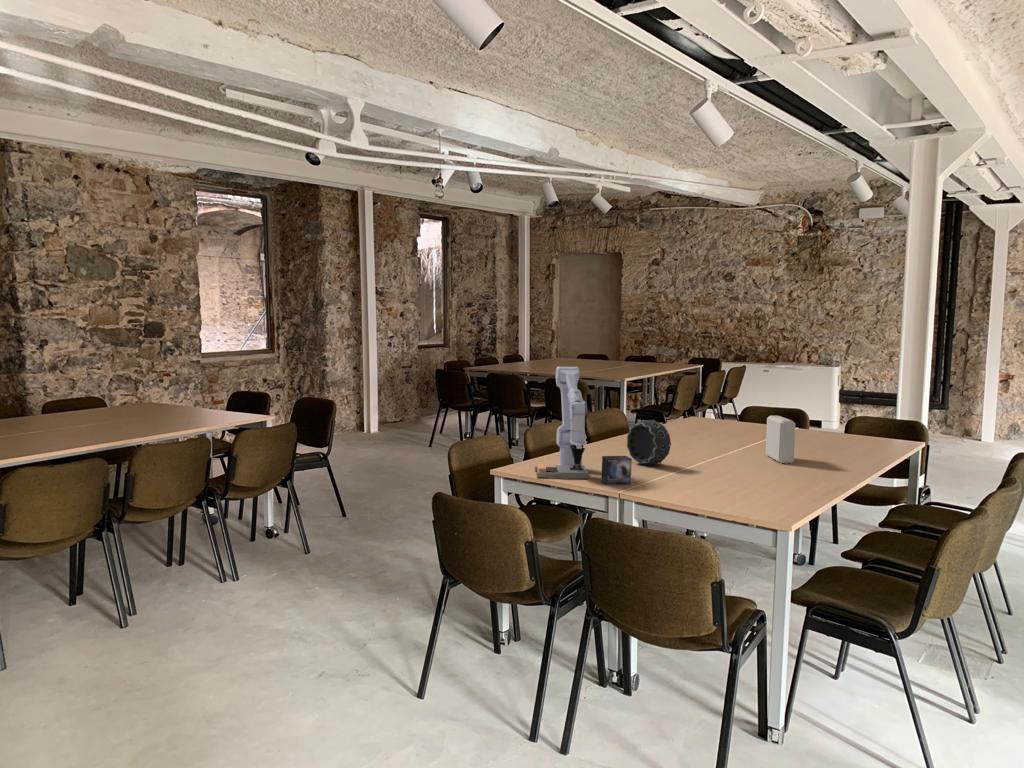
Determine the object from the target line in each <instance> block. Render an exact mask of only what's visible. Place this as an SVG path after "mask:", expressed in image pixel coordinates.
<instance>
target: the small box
mask: <svg viewBox="0 0 1024 768" xmlns="http://www.w3.org/2000/svg"><path fill="white" fill-rule="evenodd" d="M601 458H602V459H601V478H600V482H601V481H602V482H601V483H603V484H604V483H605V484H604V485H606V484H618V485H631V484H632V481H631V480H632V461H633V458H632V457H630V456H628V455H602V456H601Z"/></svg>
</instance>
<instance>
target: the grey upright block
mask: <svg viewBox="0 0 1024 768" xmlns="http://www.w3.org/2000/svg"><path fill="white" fill-rule="evenodd" d="M795 439H796V422H794V420H792V419H789V418H786V417H783V416H781V415H769V416H768V417H766V435H765V455H766V456H767V455H768V456H769V457H768V456H767V457H768V458H770V457H771V458H770V459H772V458H773V459H772V460H774V459H775V460H776V462H777V461H778V462H777V463H779V462H780V463H779V464H781V463H791V464H793V463H794V462H795V446H796V445H795V443H796V440H795ZM775 460H774V461H775Z"/></svg>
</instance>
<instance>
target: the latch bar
mask: <svg viewBox="0 0 1024 768" xmlns="http://www.w3.org/2000/svg"><path fill="white" fill-rule="evenodd" d="M536 467H537V472H538V473H547V472H546V467H547V466H546V464H545V463H537V465H536ZM537 472H536V473H537Z"/></svg>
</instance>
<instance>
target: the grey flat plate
mask: <svg viewBox="0 0 1024 768" xmlns="http://www.w3.org/2000/svg"><path fill="white" fill-rule="evenodd" d="M535 471H537V466H534V472H535ZM546 471H548V472H546V473H538V472H536V475H535V476H536V478H537V477H552V478H551V479H559V478H560V480H589V475H590V472H589V471H588V469H587V468H586V466H585V465H584V464H582V469H573V465H558V464H556V465H555V466H546ZM549 471H550V472H549Z"/></svg>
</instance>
